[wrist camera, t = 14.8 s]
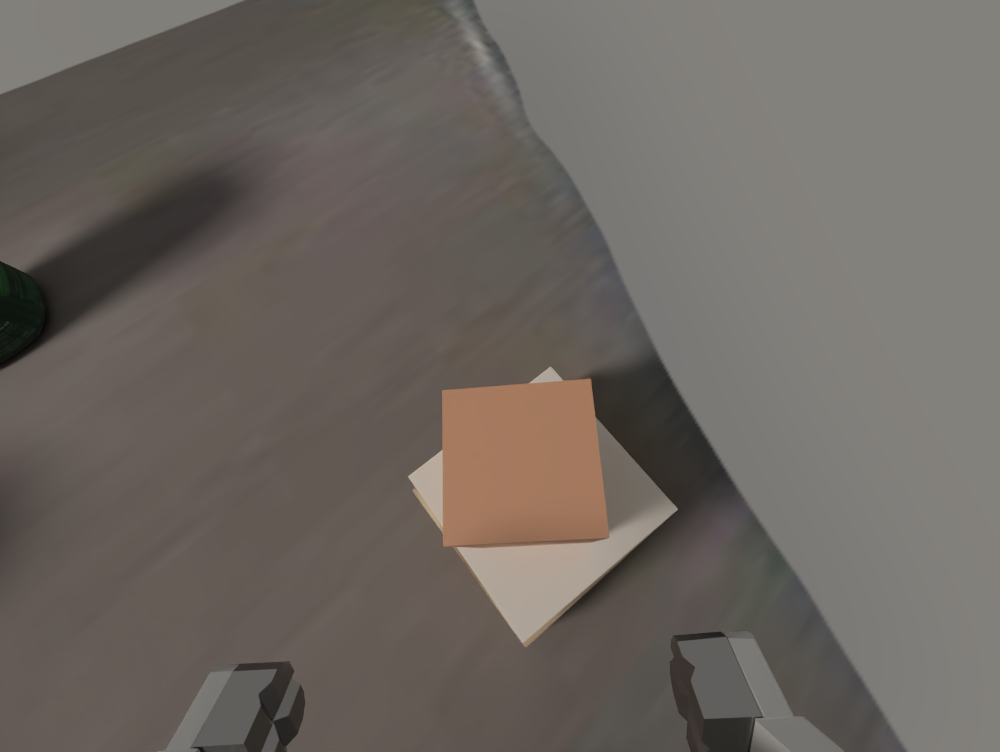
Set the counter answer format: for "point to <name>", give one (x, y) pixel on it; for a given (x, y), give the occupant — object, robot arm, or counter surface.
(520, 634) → the tower top
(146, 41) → the counter surface
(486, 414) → the pillar
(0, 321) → the coffee jar
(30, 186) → the counter surface
